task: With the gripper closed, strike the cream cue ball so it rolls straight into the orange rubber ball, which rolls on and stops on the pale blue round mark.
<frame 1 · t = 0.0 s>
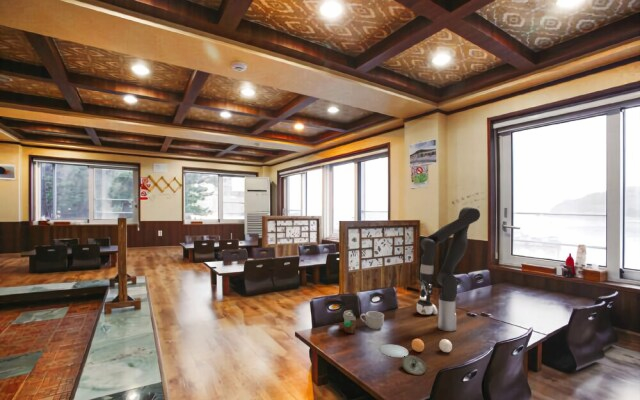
hand: (425, 299, 189), 17 cm above the table, tool pointing down, fingers open, 8 cm apart
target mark: (393, 350, 157), on the table
cue ball: (445, 345, 157), on the table
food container: (348, 331, 181), on the table
spread jar: (427, 314, 215), on the table
teacup: (371, 327, 187), on the table
object ball: (417, 345, 157), on the table
lid: (413, 370, 139), on the table
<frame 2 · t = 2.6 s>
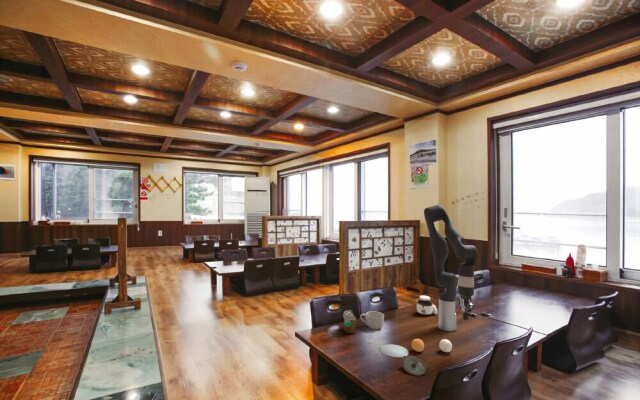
hand: (465, 319, 158), 16 cm above the table, tool pointing down, fingers closed
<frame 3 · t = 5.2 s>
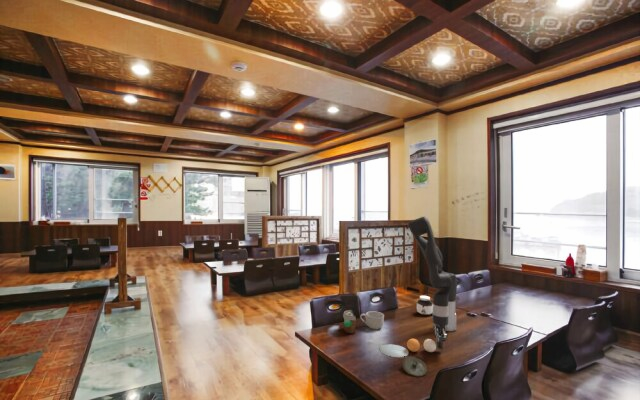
hand: (439, 348, 157), 2 cm above the table, tool pointing down, fingers closed
cue ball: (429, 345, 157), on the table
object ball: (413, 345, 157), on the table
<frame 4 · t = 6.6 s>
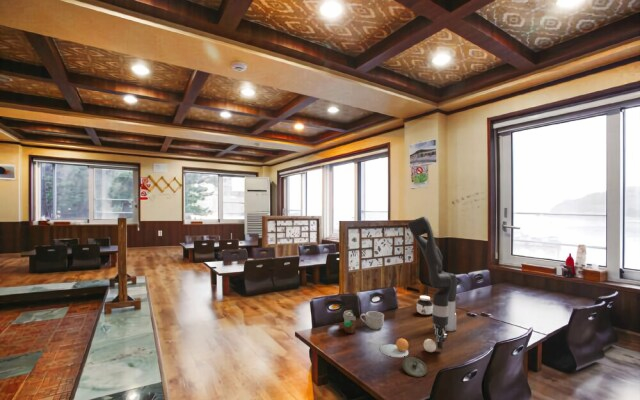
hand: (439, 348, 157), 2 cm above the table, tool pointing down, fingers closed
object ball: (402, 344, 157), on the table
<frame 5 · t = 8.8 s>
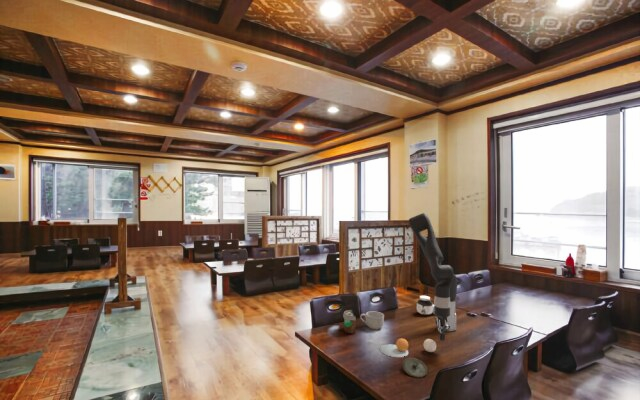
hand: (441, 340, 157), 6 cm above the table, tool pointing down, fingers closed
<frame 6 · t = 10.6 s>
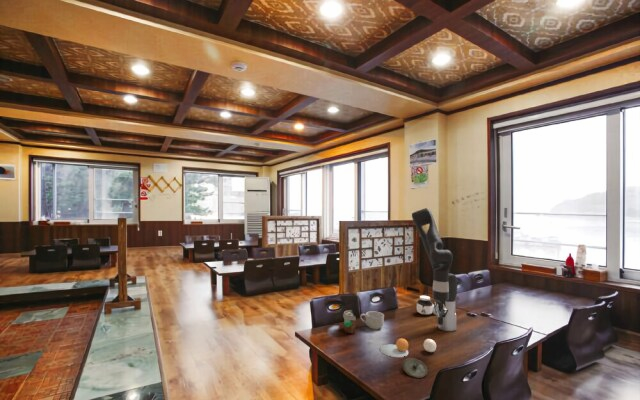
hand: (440, 324, 158), 14 cm above the table, tool pointing down, fingers closed
at the end: object ball 4.2 cm from the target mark (horizontally); object ball never touched the robot; cue ball first touched object ball at 5.0 s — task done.
